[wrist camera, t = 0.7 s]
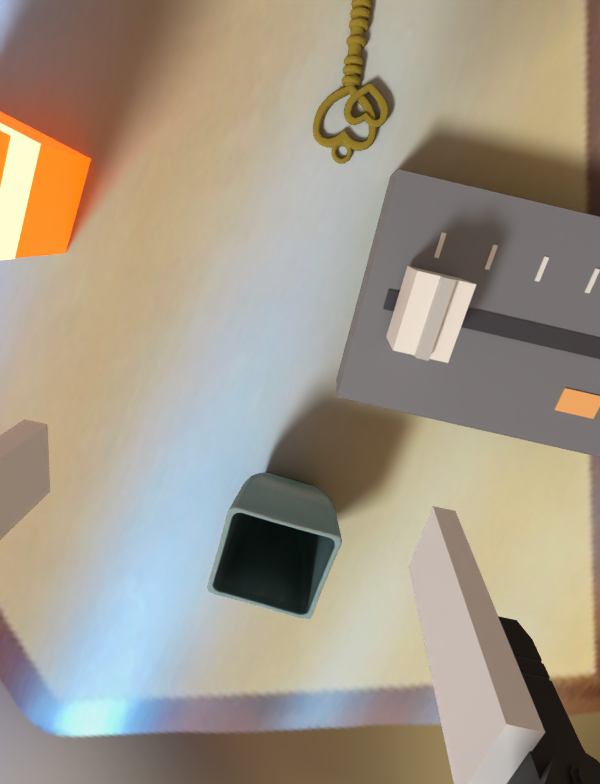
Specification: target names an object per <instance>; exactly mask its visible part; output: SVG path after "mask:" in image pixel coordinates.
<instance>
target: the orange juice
mask: <svg viewBox="0 0 600 784" xmlns="http://www.w3.org/2000/svg"><path fill="white" fill-rule="evenodd" d="M90 161H91V159H90V158H88V157H87V156H85V155H83V154H81V153H79V152H77V151H75V150H73V149H71V148H69V147H67V146H65V145H64V144H62V143H60V142H58V141H56V140H54V139H52V138H50V137H48V136H46V135H44V134H43V133H41V132H39V131H37V130H35V129H33V128H31V127H29V126H27V125H25V124H23V123H22V122H20V121H18V120H16V119H14V118H12V117H10V116H8V115H6V114H4V113H2V112H1V111H0V260H8V259H15V258H20V257H31V256H42V255H52V254H63V253H66V250H67V246H68V243H69V239H70V235H71V232H72V228H73V224H74V220H75V217H76V213H77V209H78V206H79V202H80V198H81V195H82V191H83V187H84V183H85V180H86V176H87V172H88V169H89V165H90Z"/></svg>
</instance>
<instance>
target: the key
mask: <svg viewBox="0 0 600 784" xmlns="http://www.w3.org/2000/svg"><path fill="white" fill-rule="evenodd" d="M371 6H372V3H371V1H370V0H353V1H352V8H353V9H352V10H351V13H350V15H351V18H352V19H351V21H350V23H349V28H350V29H351V34H350V36H349V37H348V39H347V45H348V46H349V49H348V56H347V57H346V58H345V59H344V63H345V65H346V66H345V67H344V68H343V73H344V74H345V76H344V77H343V78H342V84H343V85H344V87H343V88H341V89H339V90H337V91H336V92H334V93H333V94H331V95H330V96H328V97H327V98H326V100H325V101H324V102H323V103H322V104H321V106H320V107H319V109H318V111H317V113H316V116H315V120H314V125H313V134H314V138H315V140H316V141H317V142H318V143H319V144H321V145H322V146H325V147H333V148H332V157H333V159H334V160H335V161H336V162H337V163H346V162H347V161H349V160H350V158H351V156H352V150H357V151H361V150H365V149H367V148H369V147H370V146H371V145H372V143H373V142H374V139H375V136H376V129H377V127H380V126H381V125H383V124H384V123H385V121H386V119H387V117H388V105H387V102H386V100H385V98H384V97H383V96H382V94H381V93H380V92H379V90H378V89H376V88H375V87H374V86H373V85H372V84H371V83H369V84H367V85H366V86H364V87H362V88H360V89H359V90H358V89H357V88H356V86H359V85H360V84H361V79H360V78H359V77H358V76H360V75H361V74H362V68H361V66H363V62H364V61H363V59H362V58H361V57H360V56H361V49H362V47H365V46H366V39H365V38H364V37H363V34H364V31H367V30H368V27H369V23H368V21H367V20H368V19H369V18H370V11H369V10H370V9H371ZM368 92H369V93H370V94H371V95H372V96H373V97H374V98H375V99H376V101H377V103H378V104H379V107H380V110H381V115H380V118H379V119H378V120H376V116H375V112H374V109H373V107H372V105H371V103H370V102H369V101H368V99H367V98H366V97H365V96H364V95H365V94H366V93H368ZM349 94H350V95H351V97H350V98H349V99H348V100H347V102H346V105H345V109H344V116H345V119H346V121H347V122H348V123H350V124H352V125H357V124H359V123H361V122H363V121H366V122H367V123H368V124H369V135H368V138H367V140H366V141H363V142H359V141H355V140H354V139H352V138H351V137H350V136H349V135H348V133H347V131H346V130H343V131H342V132H341V133H340V134H338V135H337V136H335V137H333V138H325V137H323V136H322V135H321V133H320V126H321V123H322V119H323V117H324V115H325V114H326V112H327V111H328V109H329V108H330V107H331V106H332V105H333V104H334V103H335V102H336V101H338V100H339V99H341V98H343V97H345V96H347V95H349ZM356 102H358V103H359V104H360V105H361V106H362V108H363V110H364V111H365V113H364V114H363V115H361V116H359V117H356V118H354V117H353V116H352V115H351V113H352V107H353V105H354V104H355V103H356ZM340 146H345V147H346V148H347V151H348V152H347V155H346V156H345V157H344V158H340V157H338V156H337V149H338V147H340Z"/></svg>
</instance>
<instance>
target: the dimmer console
mask: <svg viewBox="0 0 600 784" xmlns="http://www.w3.org/2000/svg"><path fill="white" fill-rule="evenodd" d="M407 266H410V267H415V268H419V269H423V270H427V271H432V272H436V273H440V274H445V275H449V276H453V277H457V278H461V279H463V280H466V281H469V282H471V283H474V284H476V287H475V290H474V293H473V295H472V298H471V301H470V304H469V306H468V309H467V312H466V315H465V317H464V320H463V323H462V326H461V329H460V331H459V334H458V337H457V340H456V342H455V345H454V348H453V351H452V353H451V356H450V359H449V362H448V363H445V362H441V361H437V360H432V359H429V361H427V360H423V359H418V358H416V357H415V356H414V355H411V354H406V353H402V352H398V351H393V350H392V348H391V346H390V344H389V342H388V340H387V338H386V336H387V332H388V329H389V326H390V322H391V319H392V316H393V312H394V309H395V306H396V302H397V299H398V295H399V292H400V289H401V285H402V282H403V279H404V275H405V272H406V269H407ZM337 397H339V398H343V399H347V400H352V401H356V402H360V403H365V404H369V405H374V406H378V407H382V408H387V409H391V410H396V411H400V412H404V413H409V414H413V415H418V416H422V417H426V418H431V419H435V420H439V421H444V422H448V423H453V424H457V425H461V426H466V427H470V428H475V429H479V430H483V431H488V432H492V433H497V434H501V435H505V436H510V437H514V438H519V439H523V440H527V441H532V442H536V443H540V444H545V445H549V446H554V447H558V448H562V449H567V450H571V451H576V452H580V453H584V454H589V455H593V456H598V457H600V217H598V216H594V215H590V214H586V213H582V212H577V211H573V210H569V209H565V208H560V207H556V206H552V205H548V204H543V203H539V202H535V201H531V200H527V199H522V198H518V197H514V196H510V195H505V194H501V193H497V192H493V191H488V190H484V189H480V188H476V187H472V186H467V185H463V184H459V183H455V182H450V181H446V180H442V179H438V178H433V177H429V176H425V175H421V174H416V173H412V172H408V171H404V170H400V169H398V170H397V171H396V172H395V173H394V174H393V175H392V176H390V180H389V184H388V188H387V191H386V195H385V199H384V203H383V206H382V210H381V214H380V218H379V222H378V225H377V229H376V233H375V237H374V240H373V244H372V248H371V252H370V255H369V259H368V263H367V267H366V271H365V274H364V278H363V282H362V286H361V289H360V293H359V297H358V301H357V305H356V308H355V312H354V316H353V320H352V323H351V327H350V331H349V335H348V339H347V342H346V346H345V350H344V354H343V357H342V361H341V365H340V369H339V372H338V376H337Z"/></svg>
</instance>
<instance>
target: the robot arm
mask: <svg viewBox="0 0 600 784" xmlns="http://www.w3.org/2000/svg"><path fill="white" fill-rule="evenodd" d="M49 492H50V478H49V452H48V427H47V424H44V423H39V422H34V421H30V420H23V421H22V422H20V423H19V424H17V425H16V426H14V427H13V428H11V429H9V430H8V431H6V432H5V433H3V434H2V435H0V540H1V539H2V538H3V537H4V536H5V535H6V534H7V533H8V532H9V531H10V530H11V529H12V528H13V527H14V526H15V525H16V524H17V523H18V522H19V521H20V520H21V519H22V518H23V517H24V516H25V515H26V514H27V513H28V512H29V511H30V510H31V509H32V508H34V507H35V506H36V505H37V504H38V503H39V502H40V501H41V500H42V499H43V498H44V497H45V496H46V495H47V494H48V493H49ZM409 572H410V577H411V581H412V586H413V591H414V596H415V600H416V605H417V610H418V615H419V619H420V624H421V629H422V634H423V638H424V643H425V648H426V653H427V658H428V662H429V667H430V672H431V677H432V681H433V686H434V691H435V696H436V700H437V705H438V710H439V715H440V720H441V724H442V729H443V734H444V738H445V743H446V748H447V753H448V758H449V762H450V767H451V772H452V777H453V781H454V784H600V763H599V762H598V761H597V760H596V759H594V758H593V757H591V756H590V755H588V754H587V753H585V751H584V749H583V747H582V746H581V743H580V741H579V739H578V737H577V735H576V733H575V731H574V728H573V726H572V724H571V722H570V720H569V718H568V715H567V713H566V711H565V709H564V707H563V705H562V703H561V700H560V698H559V696H558V694H557V692H556V690H555V688H554V685H553V683H552V681H550V680H549V675H548V672H547V670H546V668H545V666H544V664H542V663H541V657H540V655H539V653H538V651H537V649H536V647H535V645H534V642H533V640H532V639H531V637H530V636H529V635H528V634H527V633H526V631H525V630H524V629H523V628H522V626H521V625H520V624H519V623H518V622H517V620H513V619H508V618H503V617H498V615H497V612H496V610H495V607H494V605H493V603H492V600H491V598H490V595H489V593H488V590H487V588H486V585H485V583H484V580H483V578H482V576H481V573H480V571H479V568H478V566H477V563H476V561H475V558H474V556H473V553H472V551H471V549H470V546H469V544H468V541H467V539H466V536H465V534H464V531H463V529H462V526H461V524H460V522H459V519H458V517H457V514H456V512H455V511H453V510H448V509H443V508H439V507H434V506H433V507H432V510H431V512H430V515H429V517H428V520H427V522H426V525H425V527H424V530H423V532H422V535H421V537H420V540H419V542H418V545H417V547H416V550H415V552H414V555H413V557H412V560H411V563H410V565H409Z"/></svg>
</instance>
